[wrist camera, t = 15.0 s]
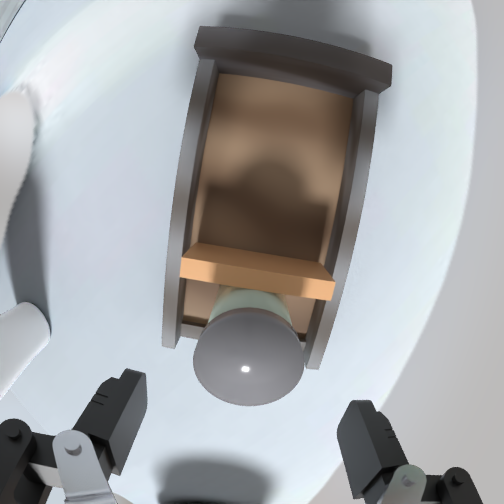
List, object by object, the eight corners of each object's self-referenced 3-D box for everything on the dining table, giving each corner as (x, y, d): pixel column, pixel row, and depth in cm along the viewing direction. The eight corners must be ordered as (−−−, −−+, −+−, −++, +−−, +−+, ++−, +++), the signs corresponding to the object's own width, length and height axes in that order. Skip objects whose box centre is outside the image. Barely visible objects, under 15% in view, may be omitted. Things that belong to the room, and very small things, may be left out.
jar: (220, 257, 21) (197, 309, 13) (292, 269, 21) (316, 326, 13) (211, 322, 23) (190, 397, 14) (279, 332, 23) (290, 410, 14)
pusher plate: (195, 242, 20) (181, 257, 16) (320, 262, 21) (335, 282, 16) (193, 258, 21) (179, 276, 17) (317, 278, 21) (330, 300, 17)
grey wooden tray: (210, 56, 18) (199, 26, 13) (365, 85, 18) (392, 64, 14) (171, 327, 23) (154, 360, 18) (312, 349, 24) (323, 385, 19)
